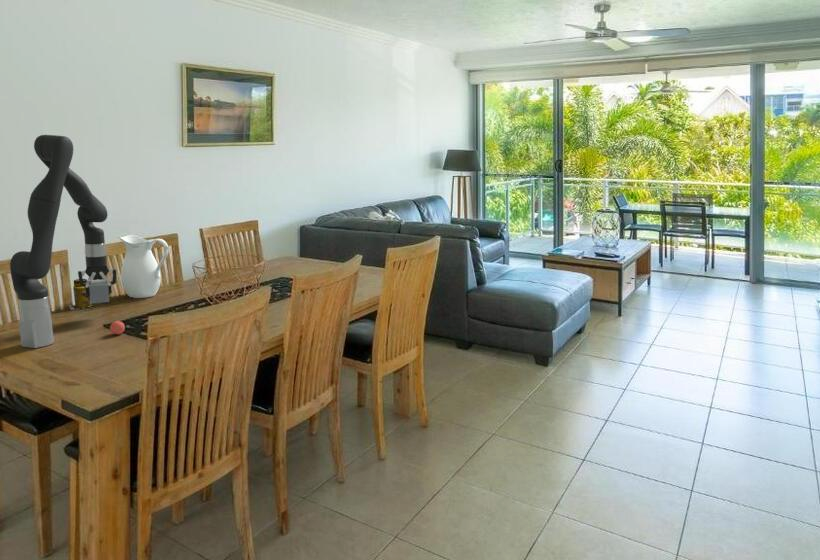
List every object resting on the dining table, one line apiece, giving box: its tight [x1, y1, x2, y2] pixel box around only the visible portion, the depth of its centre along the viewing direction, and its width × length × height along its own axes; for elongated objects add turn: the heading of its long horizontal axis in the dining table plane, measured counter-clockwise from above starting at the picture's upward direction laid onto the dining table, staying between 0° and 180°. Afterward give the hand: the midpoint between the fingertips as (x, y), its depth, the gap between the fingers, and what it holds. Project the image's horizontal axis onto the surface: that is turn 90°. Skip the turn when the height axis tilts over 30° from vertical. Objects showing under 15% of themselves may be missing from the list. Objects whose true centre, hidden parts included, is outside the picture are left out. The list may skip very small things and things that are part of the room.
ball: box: [109, 320, 126, 335], centre depth 233 cm, size 5×5×5 cm
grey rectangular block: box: [89, 279, 110, 304], centre depth 250 cm, size 11×7×7 cm, turn 29°
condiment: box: [68, 278, 93, 311], centre depth 269 cm, size 7×8×12 cm
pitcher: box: [118, 234, 170, 299], centre depth 287 cm, size 24×17×28 cm
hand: (99, 295), depth 251 cm, fingers closed on grey rectangular block, 6 cm apart
